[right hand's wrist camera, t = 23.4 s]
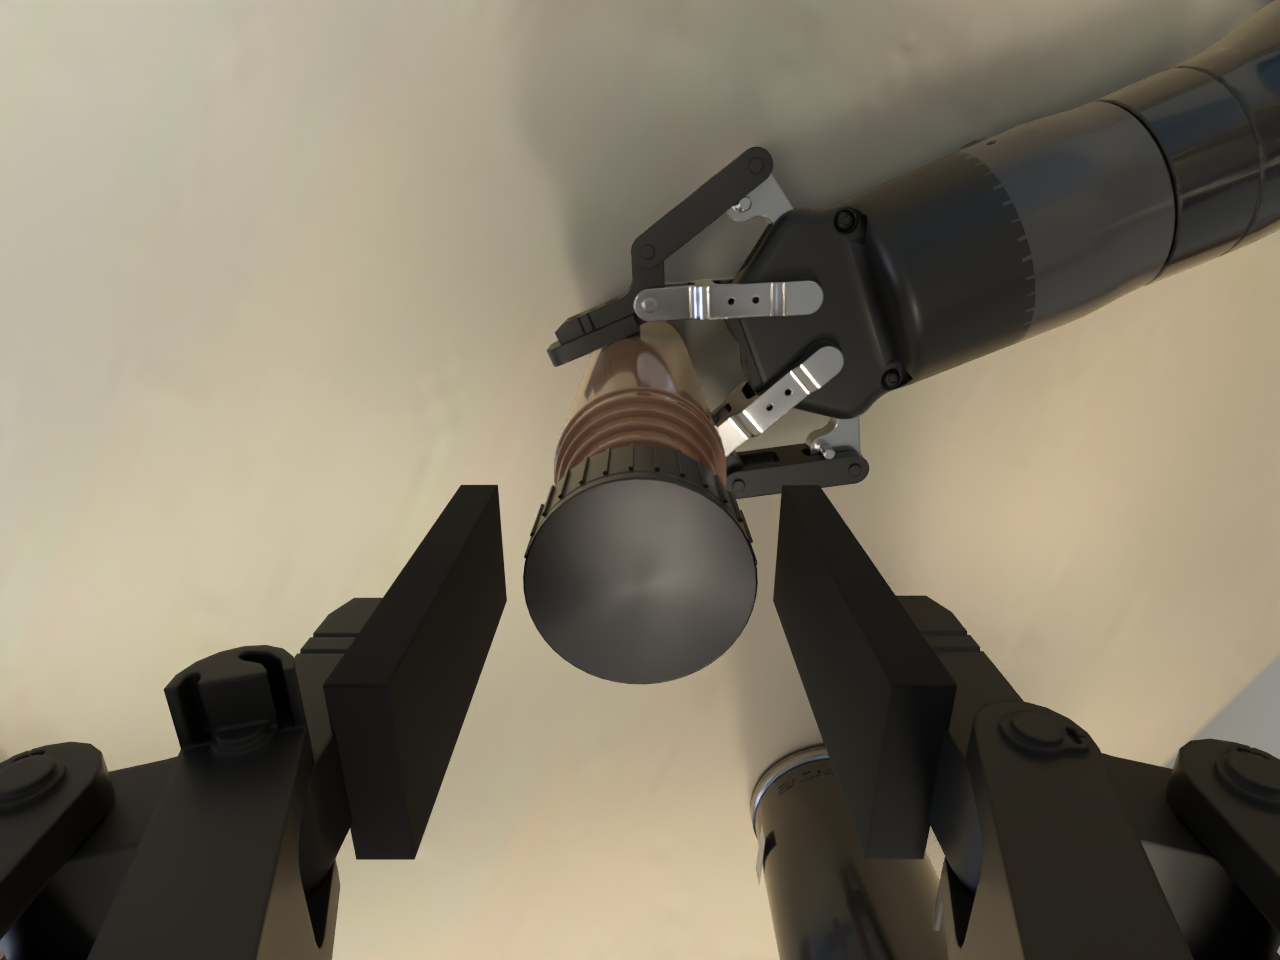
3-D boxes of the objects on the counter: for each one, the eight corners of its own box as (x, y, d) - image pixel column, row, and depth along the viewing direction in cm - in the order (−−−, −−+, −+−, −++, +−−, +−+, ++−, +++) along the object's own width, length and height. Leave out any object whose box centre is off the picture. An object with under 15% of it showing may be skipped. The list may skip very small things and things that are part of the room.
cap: (574, 410, 14) (563, 439, 12) (780, 484, 14) (801, 522, 12) (509, 596, 15) (491, 647, 13) (698, 656, 16) (706, 714, 14)
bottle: (574, 345, 33) (472, 527, 13) (658, 294, 33) (688, 408, 12) (623, 426, 35) (600, 703, 15) (705, 380, 34) (801, 605, 14)
